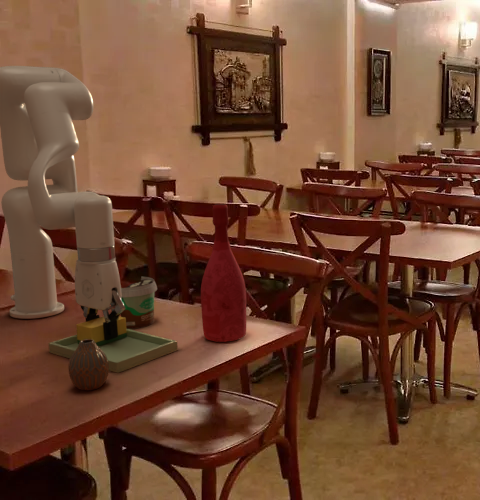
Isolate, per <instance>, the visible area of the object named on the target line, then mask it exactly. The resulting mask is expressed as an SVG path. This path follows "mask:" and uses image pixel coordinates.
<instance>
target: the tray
mask: <svg viewBox="0 0 480 500" xmlns="http://www.w3.org/2000/svg"><path fill="white" fill-rule="evenodd" d="M126 331H127V332H126V333H127V337H125V338H122V339H119V340H116V341H113V342H110V343H107V344H104V345H101V346H98V347H99V348H100V349H101V350H102V351H103V352H104V353H105V355H106V357H107V359H108V363H109V372H113V373H116V374H119V373H122V372H124V371H127V370H129V369H133V368H134V367H135V368H136V367H137V366H140V365H142V364H145V363H148V362H151V361H153V360H156V359H159V358H161V357H165V356H166V355H170V354H171V353H174V352H177V351H178V350H179V349H178V340H175V339H170V338H166V337H162V336H158V335H154V334H150V333H148V332H147V333H146V332H143V331H138V330H134V329H126ZM78 345H79V344H78V341H77V334H74V335H71V336H67V337H64V338H61V339H57V340H54V341H50V342H48V353H50V354H52V355H57V356H59V357H63V358H66V359H69V360H70V358H71V356H72V354H73V353H74V351H75V350H76V349H77V347H78Z"/></svg>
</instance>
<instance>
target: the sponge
mask: <svg viewBox="0 0 480 500" xmlns="http://www.w3.org/2000/svg"><path fill="white" fill-rule="evenodd" d="M99 317H100V316H99ZM103 322H105V319H104V316H101V317H100V318H97V319H93V320H90V321H87V322H86V321H83V322H80V323H77V324H75V326H76V327H75V328H76V335H77V341H78V344H79V343H80V341H81V340H84V339H93V340H94V342H95V343H96V345H97V346H101V345H104V344H107V343H110V342H113V341H116V340H119V339H122V338H125V337H127V333H126V332H127V331H126V318H124V317H121V316H119V319H118V320H117V327H118V337H116V338H113V339H110V340H105V339H104V328H103Z"/></svg>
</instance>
